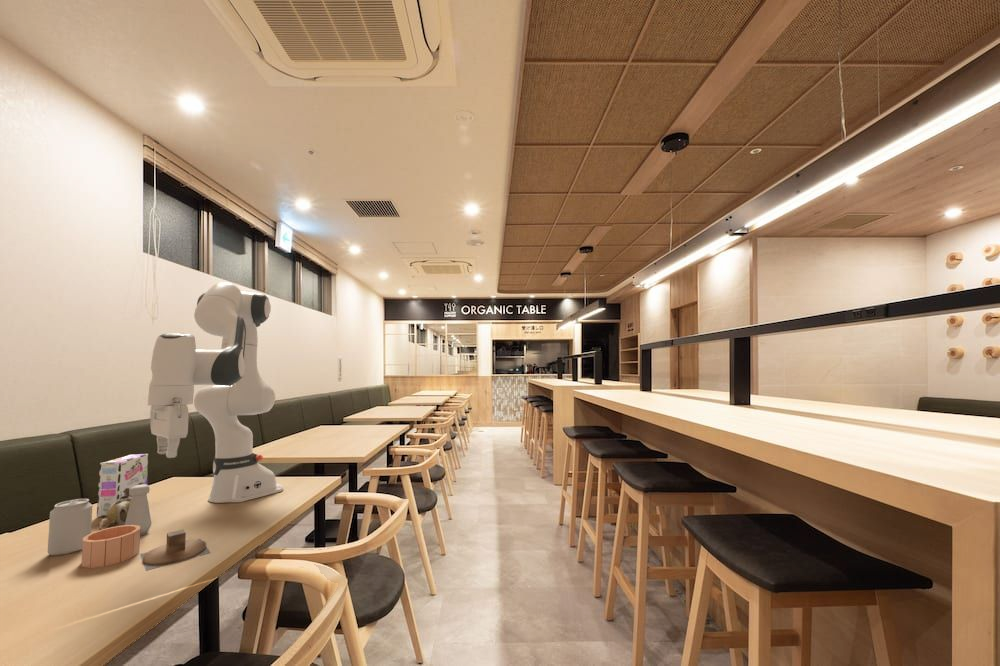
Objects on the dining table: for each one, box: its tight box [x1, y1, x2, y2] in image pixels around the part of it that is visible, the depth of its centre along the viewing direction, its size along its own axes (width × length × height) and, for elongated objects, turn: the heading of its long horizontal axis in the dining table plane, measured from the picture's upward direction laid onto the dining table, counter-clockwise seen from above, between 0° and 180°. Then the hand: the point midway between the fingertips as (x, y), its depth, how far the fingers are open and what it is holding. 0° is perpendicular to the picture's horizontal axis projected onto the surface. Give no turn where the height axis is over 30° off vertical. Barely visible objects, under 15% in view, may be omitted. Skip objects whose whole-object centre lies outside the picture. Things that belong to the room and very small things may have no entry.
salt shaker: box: [125, 484, 152, 537], centre depth 116 cm, size 6×6×13 cm
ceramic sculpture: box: [97, 495, 131, 531], centre depth 122 cm, size 11×9×15 cm
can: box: [47, 498, 93, 557], centre depth 106 cm, size 8×8×12 cm
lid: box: [142, 528, 207, 565], centre depth 102 cm, size 12×12×5 cm
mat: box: [139, 538, 212, 571], centre depth 102 cm, size 12×12×1 cm
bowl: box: [81, 525, 141, 569], centre depth 101 cm, size 10×10×6 cm
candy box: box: [96, 453, 149, 518], centre depth 137 cm, size 14×6×16 cm, turn 9°
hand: (166, 455), depth 103 cm, fingers open, 8 cm apart
